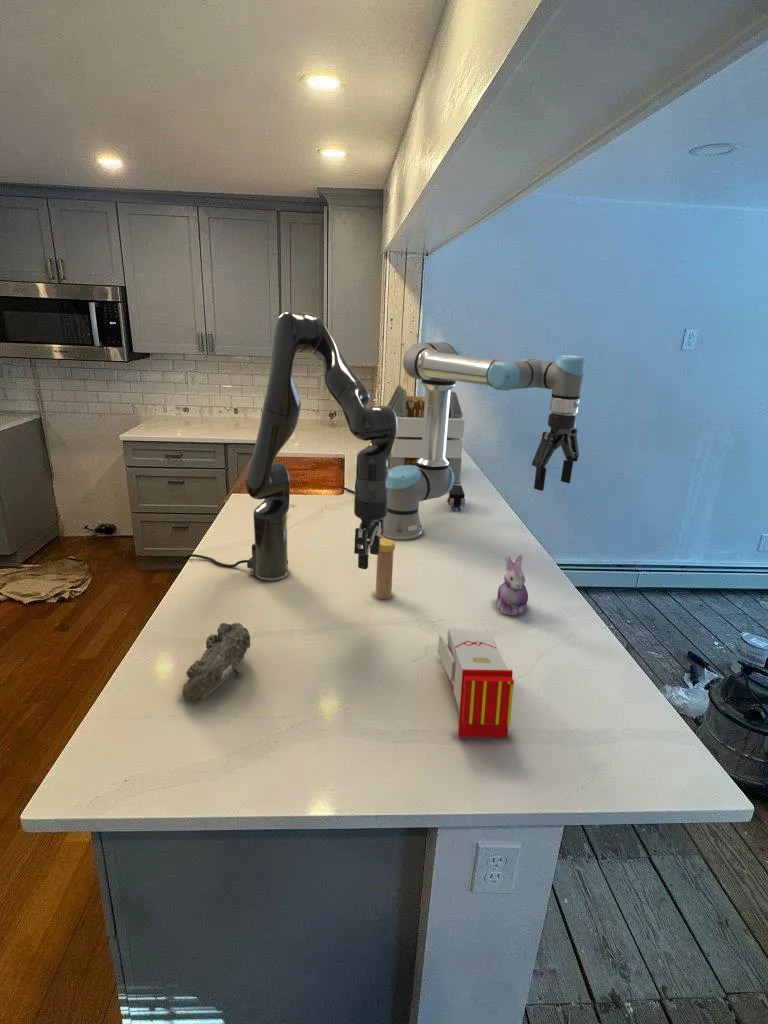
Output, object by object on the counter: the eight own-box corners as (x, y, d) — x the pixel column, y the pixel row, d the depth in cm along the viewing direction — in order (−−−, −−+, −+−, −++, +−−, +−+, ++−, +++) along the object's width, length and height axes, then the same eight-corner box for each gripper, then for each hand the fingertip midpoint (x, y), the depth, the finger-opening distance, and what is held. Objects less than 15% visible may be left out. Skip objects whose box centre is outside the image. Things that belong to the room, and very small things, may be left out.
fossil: (203, 625, 130) (250, 595, 125) (232, 653, 133) (279, 625, 128) (160, 694, 111) (214, 662, 106) (195, 725, 113) (249, 695, 108)
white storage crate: (382, 463, 289) (386, 382, 275) (445, 464, 293) (451, 384, 279) (390, 482, 257) (394, 392, 243) (460, 483, 261) (468, 394, 247)
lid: (372, 549, 151) (373, 543, 150) (382, 543, 155) (382, 537, 154) (388, 554, 149) (389, 547, 148) (398, 547, 153) (398, 541, 152)
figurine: (510, 620, 147) (517, 567, 142) (486, 602, 155) (492, 552, 150) (538, 612, 151) (545, 561, 146) (513, 595, 159) (519, 546, 154)
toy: (488, 613, 130) (523, 677, 101) (484, 667, 133) (517, 744, 104) (435, 612, 130) (455, 676, 101) (432, 666, 133) (451, 743, 103)
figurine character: (465, 515, 224) (460, 499, 237) (467, 498, 221) (462, 483, 234) (448, 515, 224) (444, 499, 237) (450, 498, 220) (445, 482, 234)
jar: (372, 596, 156) (374, 544, 151) (380, 590, 159) (382, 539, 154) (386, 600, 154) (388, 548, 149) (394, 594, 157) (396, 543, 152)
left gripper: (365, 484, 135) (363, 547, 141) (344, 502, 122) (343, 570, 128) (395, 488, 133) (392, 552, 139) (377, 507, 120) (374, 576, 126)
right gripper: (548, 419, 148) (537, 496, 155) (598, 411, 163) (586, 482, 171) (525, 414, 153) (515, 489, 160) (575, 407, 169) (564, 476, 176)
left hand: (368, 560), depth 133 cm, fingers open, 8 cm apart
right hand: (552, 485), depth 166 cm, fingers open, 13 cm apart
